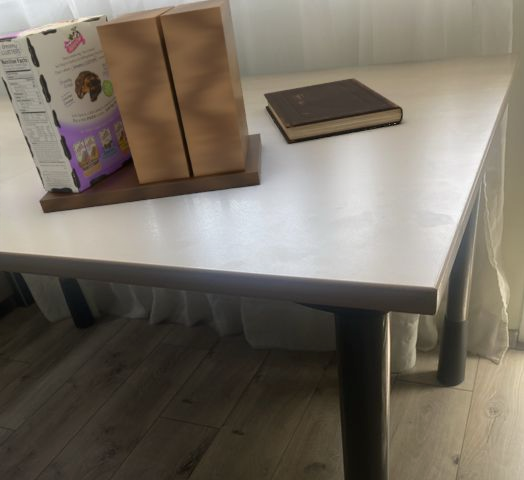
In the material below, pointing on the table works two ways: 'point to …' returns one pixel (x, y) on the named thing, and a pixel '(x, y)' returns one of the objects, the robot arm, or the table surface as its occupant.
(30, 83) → the candy box
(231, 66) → the split wooden block stand
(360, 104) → the hardcover book
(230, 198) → the table surface
